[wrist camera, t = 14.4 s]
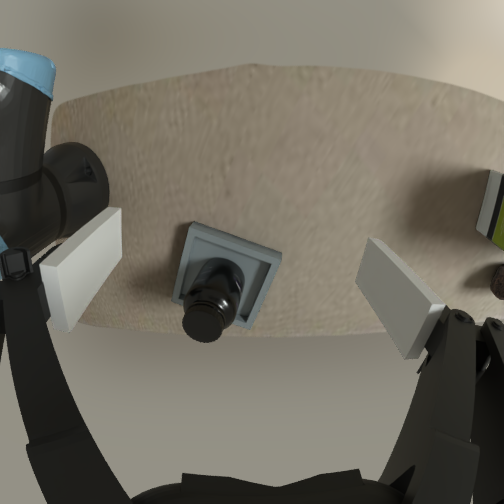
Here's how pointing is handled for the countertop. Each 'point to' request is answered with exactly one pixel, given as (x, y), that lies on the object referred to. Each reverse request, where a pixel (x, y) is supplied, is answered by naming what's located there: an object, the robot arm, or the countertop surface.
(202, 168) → the countertop surface
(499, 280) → the perforated stone tool
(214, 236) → the tray
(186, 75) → the countertop surface
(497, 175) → the tea box
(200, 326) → the supplement bottle
